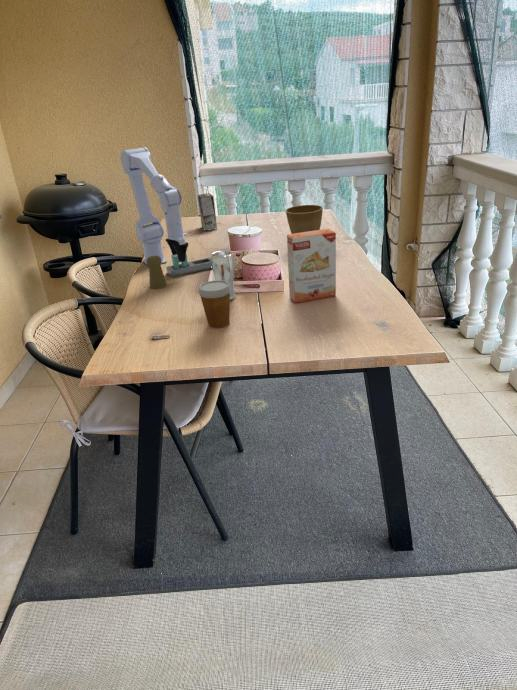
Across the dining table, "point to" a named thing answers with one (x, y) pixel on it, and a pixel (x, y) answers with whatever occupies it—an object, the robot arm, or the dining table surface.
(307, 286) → the cracker box
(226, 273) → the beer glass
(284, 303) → the dining table surface
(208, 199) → the coffee box
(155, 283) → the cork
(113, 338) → the dining table surface
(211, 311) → the disposable coffee cup
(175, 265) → the clip
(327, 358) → the dining table surface
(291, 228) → the plant pot
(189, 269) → the grey compartment tray
